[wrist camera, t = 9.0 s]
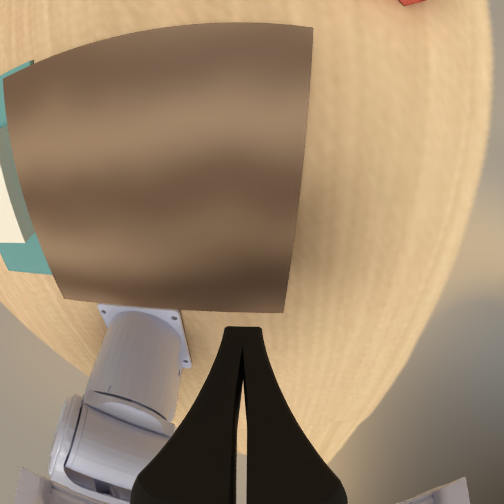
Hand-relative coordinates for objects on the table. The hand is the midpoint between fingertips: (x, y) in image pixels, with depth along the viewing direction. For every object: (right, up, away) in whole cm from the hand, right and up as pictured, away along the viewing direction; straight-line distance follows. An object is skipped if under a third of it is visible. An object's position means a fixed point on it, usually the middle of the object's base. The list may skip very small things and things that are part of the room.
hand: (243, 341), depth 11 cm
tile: (-20, +9, +4) cm, 22 cm away
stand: (-5, +9, +5) cm, 12 cm away
